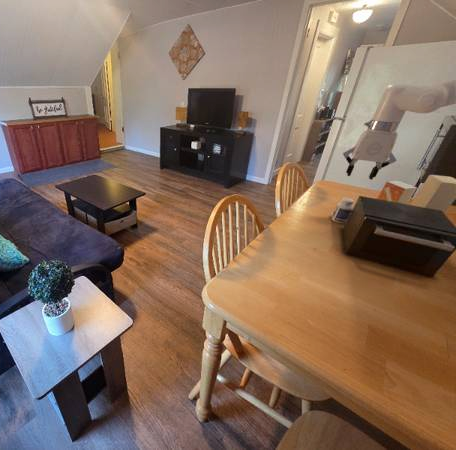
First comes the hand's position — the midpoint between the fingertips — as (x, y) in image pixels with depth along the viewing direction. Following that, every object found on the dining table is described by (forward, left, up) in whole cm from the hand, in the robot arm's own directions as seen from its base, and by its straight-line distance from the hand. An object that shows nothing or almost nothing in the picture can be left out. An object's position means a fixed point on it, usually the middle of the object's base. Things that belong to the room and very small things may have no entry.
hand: (359, 176), depth 92 cm
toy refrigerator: (-26, -8, -20) cm, 34 cm away
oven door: (-12, +27, -20) cm, 36 cm away
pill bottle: (0, 0, -20) cm, 20 cm away
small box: (-19, -21, -20) cm, 35 cm away
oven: (-12, +16, -20) cm, 28 cm away
